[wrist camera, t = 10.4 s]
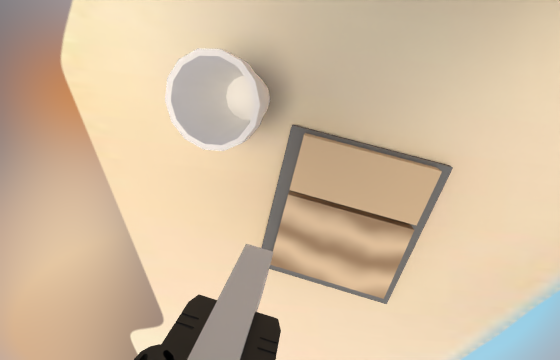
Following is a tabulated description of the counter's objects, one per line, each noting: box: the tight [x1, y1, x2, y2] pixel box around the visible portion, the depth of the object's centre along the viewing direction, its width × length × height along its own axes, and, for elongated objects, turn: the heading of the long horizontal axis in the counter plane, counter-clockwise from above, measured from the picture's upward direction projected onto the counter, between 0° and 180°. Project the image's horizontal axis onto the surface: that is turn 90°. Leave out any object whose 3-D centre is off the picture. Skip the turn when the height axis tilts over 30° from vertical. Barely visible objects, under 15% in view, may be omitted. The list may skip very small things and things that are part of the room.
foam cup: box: [165, 48, 270, 151], centre depth 32 cm, size 10×9×13 cm
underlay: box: [262, 125, 453, 304], centre depth 40 cm, size 24×22×3 cm
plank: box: [270, 190, 414, 299], centre depth 40 cm, size 12×18×2 cm, turn 77°
